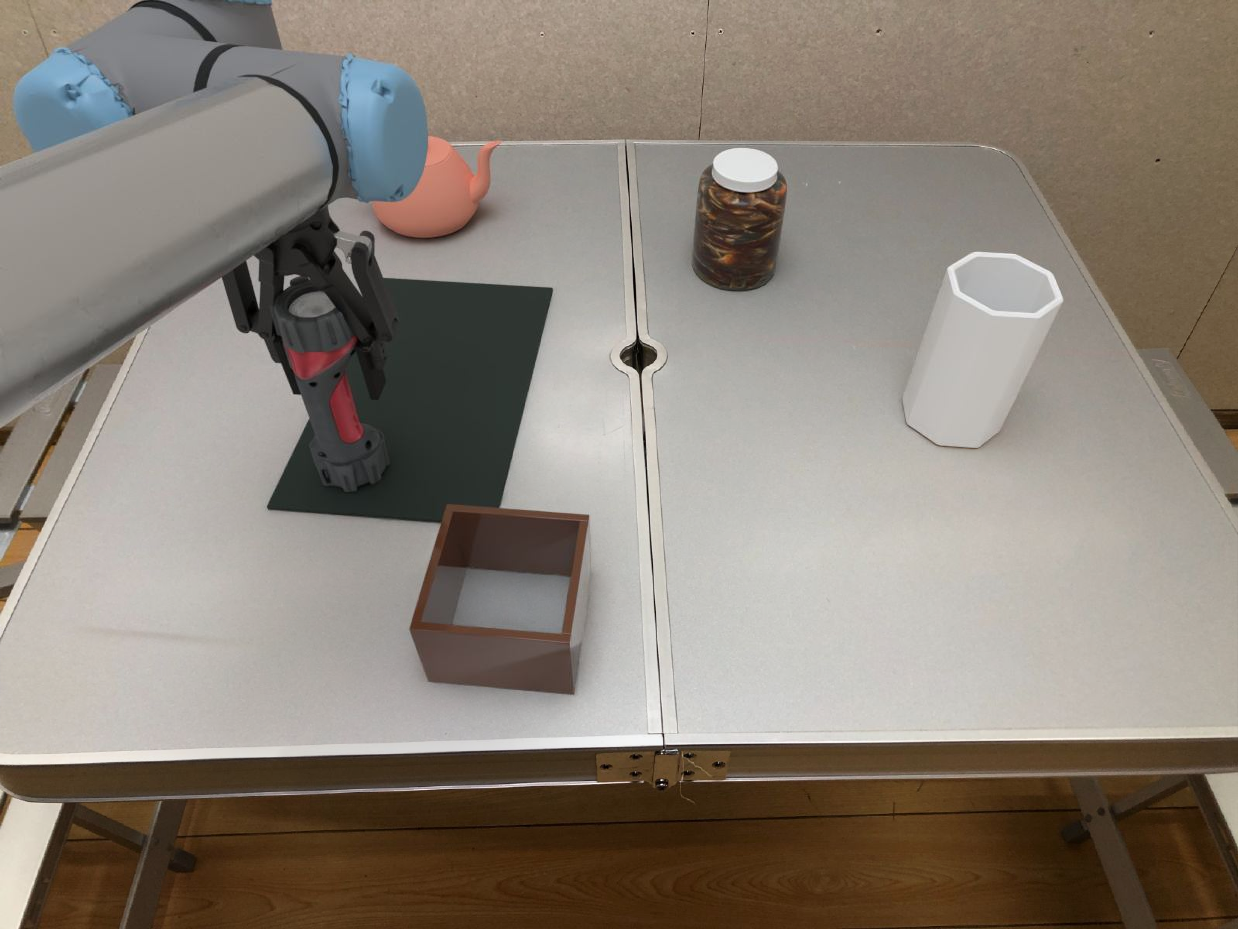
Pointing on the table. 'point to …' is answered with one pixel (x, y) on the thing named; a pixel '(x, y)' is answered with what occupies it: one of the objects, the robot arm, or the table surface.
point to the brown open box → (505, 547)
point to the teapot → (440, 193)
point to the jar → (739, 220)
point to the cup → (979, 347)
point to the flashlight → (327, 386)
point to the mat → (436, 403)
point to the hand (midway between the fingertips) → (340, 387)
